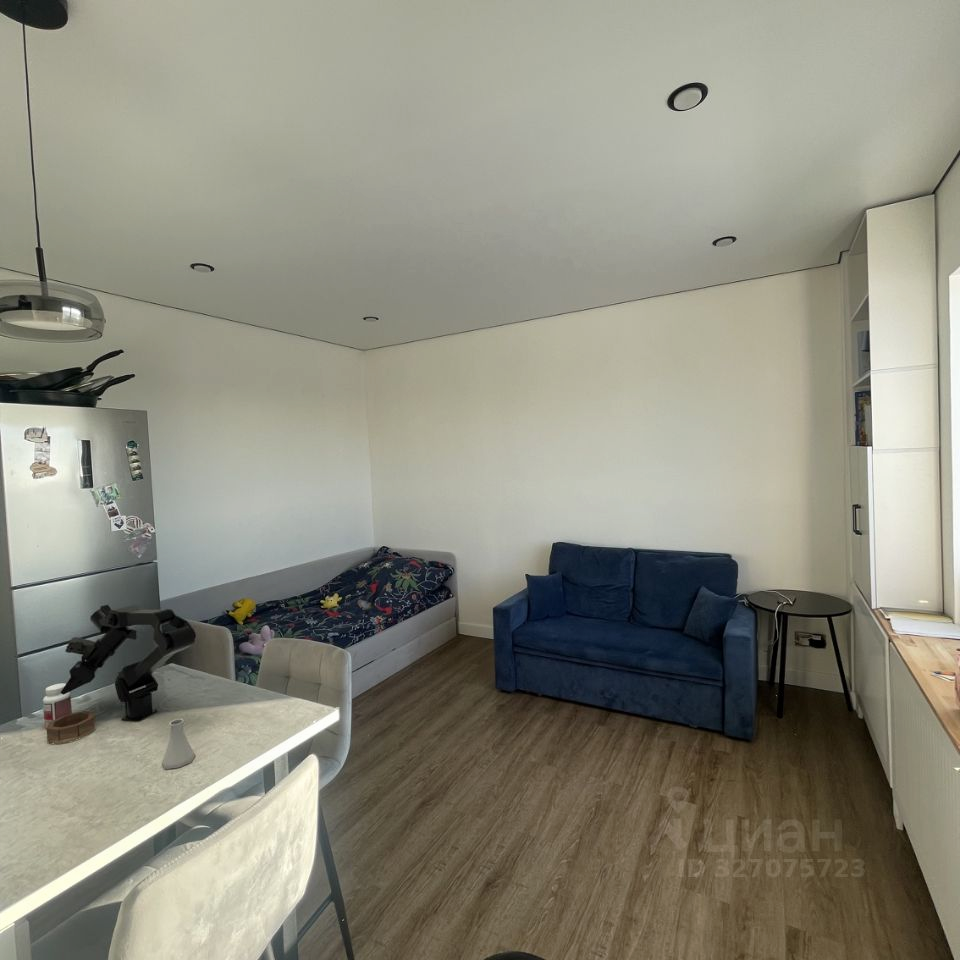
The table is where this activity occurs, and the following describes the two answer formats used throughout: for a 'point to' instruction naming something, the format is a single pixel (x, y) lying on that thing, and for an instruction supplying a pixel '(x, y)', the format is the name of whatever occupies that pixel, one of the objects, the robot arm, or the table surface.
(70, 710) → the pill bottle
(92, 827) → the table surface
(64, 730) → the bottle holder
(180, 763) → the flask
